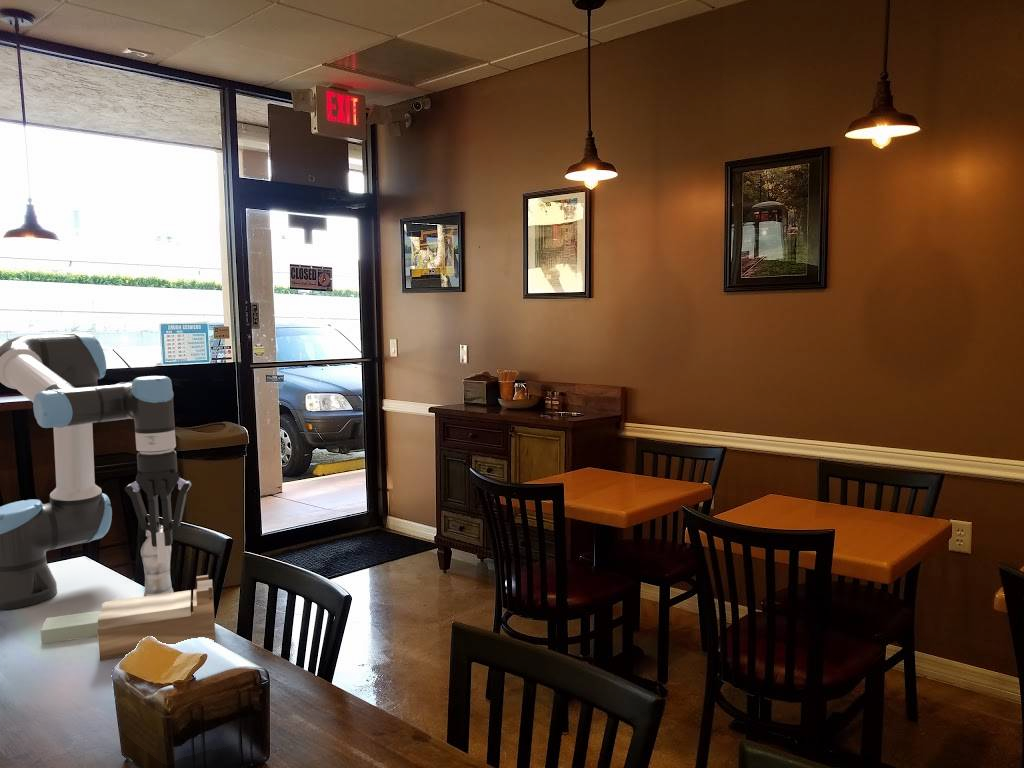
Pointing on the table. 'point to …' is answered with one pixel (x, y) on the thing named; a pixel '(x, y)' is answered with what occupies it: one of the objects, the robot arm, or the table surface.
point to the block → (206, 586)
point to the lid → (145, 609)
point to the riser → (70, 627)
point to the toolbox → (162, 628)
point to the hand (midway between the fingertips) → (163, 560)
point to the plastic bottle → (155, 569)
